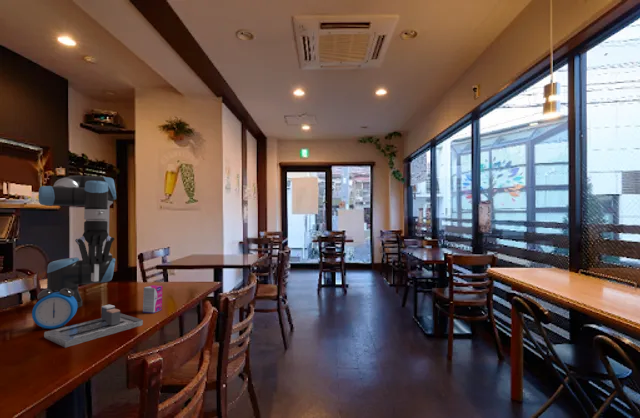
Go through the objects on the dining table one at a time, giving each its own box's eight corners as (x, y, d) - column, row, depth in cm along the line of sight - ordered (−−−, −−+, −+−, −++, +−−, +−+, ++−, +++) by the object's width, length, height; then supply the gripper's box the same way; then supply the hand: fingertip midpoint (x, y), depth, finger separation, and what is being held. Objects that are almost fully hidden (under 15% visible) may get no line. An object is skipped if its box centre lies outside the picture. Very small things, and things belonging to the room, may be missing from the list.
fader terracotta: (106, 323, 123) (106, 310, 123) (114, 321, 126) (114, 308, 126) (111, 325, 121) (111, 311, 121) (119, 323, 124) (120, 309, 124)
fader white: (101, 318, 129) (101, 306, 129) (109, 316, 132) (109, 304, 132) (106, 320, 127) (106, 307, 127) (114, 318, 130) (114, 305, 130)
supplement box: (153, 313, 144) (154, 288, 144) (142, 313, 145) (142, 287, 145) (162, 310, 150) (162, 285, 150) (151, 309, 151) (151, 284, 151)
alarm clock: (30, 331, 121) (31, 291, 121) (37, 326, 127) (38, 288, 127) (73, 326, 127) (74, 288, 127) (77, 322, 132) (78, 285, 133)
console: (44, 337, 115) (44, 331, 115) (120, 318, 138) (120, 312, 138) (65, 347, 106) (65, 340, 107) (142, 325, 129) (142, 319, 129)
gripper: (81, 220, 118) (79, 285, 117) (118, 220, 129) (117, 279, 128) (72, 220, 122) (70, 282, 121) (109, 220, 133) (108, 277, 132)
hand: (94, 280), depth 125 cm, fingers closed
